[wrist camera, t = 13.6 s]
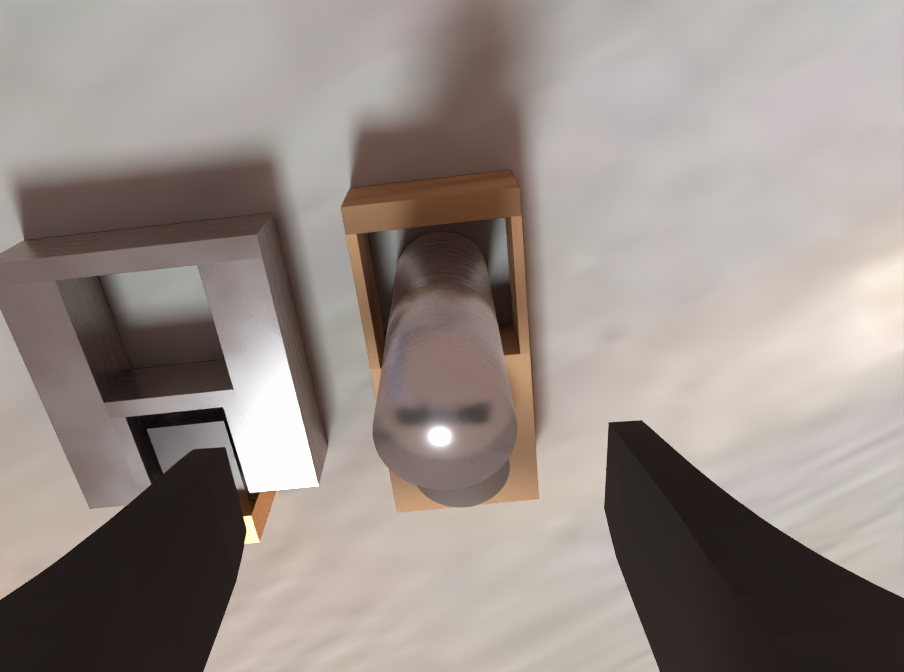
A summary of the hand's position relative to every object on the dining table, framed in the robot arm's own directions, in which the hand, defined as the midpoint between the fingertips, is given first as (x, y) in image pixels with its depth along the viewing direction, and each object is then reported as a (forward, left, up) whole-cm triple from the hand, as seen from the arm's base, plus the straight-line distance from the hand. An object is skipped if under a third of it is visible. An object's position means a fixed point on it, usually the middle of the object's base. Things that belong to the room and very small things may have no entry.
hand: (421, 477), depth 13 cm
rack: (+2, +1, -10) cm, 11 cm away
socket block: (+2, -8, -10) cm, 14 cm away
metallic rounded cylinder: (0, +1, -10) cm, 10 cm away
